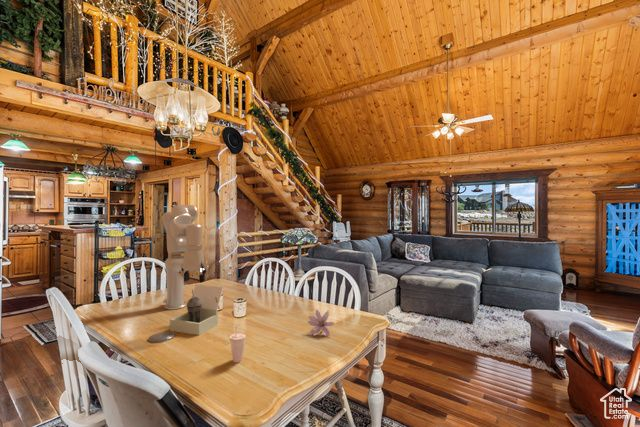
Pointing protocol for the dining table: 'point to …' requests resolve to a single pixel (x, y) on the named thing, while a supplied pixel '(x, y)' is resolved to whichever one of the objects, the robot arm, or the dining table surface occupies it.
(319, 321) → the water lily
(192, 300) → the beverage cup
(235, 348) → the smoothie
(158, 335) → the coaster
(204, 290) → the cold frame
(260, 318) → the dining table surface
